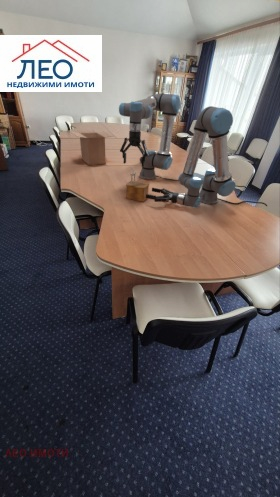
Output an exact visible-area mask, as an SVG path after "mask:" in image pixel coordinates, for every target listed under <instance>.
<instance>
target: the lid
mask: <svg viewBox="0 0 280 497" xmlns="http://www.w3.org/2000/svg"><path fill="white" fill-rule="evenodd" d="M136 174H137V171H133V172H131V173H130V181H129V182H127V183H126V184H125V187H127V186H129V187H134V188H139V189H145V188H146V187H147V186H148V185H149V186H150V184H149V183H145V182H139V181H136Z"/></svg>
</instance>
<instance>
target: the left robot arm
mask: <svg viewBox="0 0 280 497" xmlns="http://www.w3.org/2000/svg"><path fill="white" fill-rule="evenodd" d="M181 110H182V98H181V96H180V95H179V94H175V93H172V94H171V93H155V94H152V95H148V96H147V97H146V98H144V99H140V100H136V101H135V100H134V101H130V102H121V103H120V104H119V105H118V113H119V114H120V116H122V117H127V118H128V117H129V127H128V128H129V129H128V130H129V131H128V137H127V136H125V137H124V140H123V143H122V145H121V147H120V149H119V152H121V153H122V159H123V164H127V151H128V150H129V149H130V147H137V149H138V150H139V151H140V153H141V155H142V156H141V157H142V163H141V169H140V171H139V178H140V179H142V180H146V181H154V180H156V178H160V179H162V180H166V181H173V182H174V181H175V182H179V180H178V179H173V178H167V177H162V176H160V175H159V176H158V175H157V174H156V169H160V170H164V171H167V170H169V169H170V168H171V166H172V164H173V156H172V153H171V151H170V150H171V143H172V137H173V131H174V124H175V120H176V118H177V117H178V115H179V114H180V113H181ZM153 111H154V112H155V111H156V112H162V113H161V116H162V117H163V118H162V119H163V120H162V127H161V136H160V143H159V150H153V149H151V150H150V149H149V150H148V148H147V145H146V140H145V139H141V138H142V136H141V135H142V120H148V119H150V118H151V117H152V116H153ZM128 142H129V143H128ZM127 143H128V144H127ZM126 145H127V146H126ZM236 187H237V188H244V189H247V187H246V186H245V185H236ZM236 187H235V188H236Z"/></svg>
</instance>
